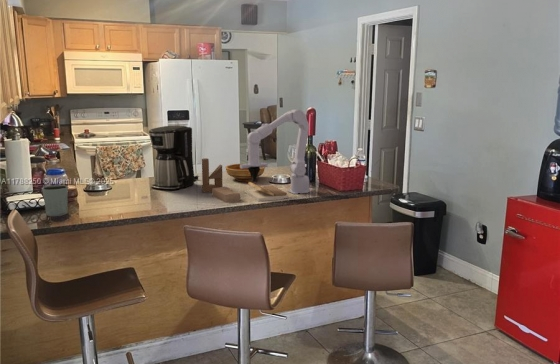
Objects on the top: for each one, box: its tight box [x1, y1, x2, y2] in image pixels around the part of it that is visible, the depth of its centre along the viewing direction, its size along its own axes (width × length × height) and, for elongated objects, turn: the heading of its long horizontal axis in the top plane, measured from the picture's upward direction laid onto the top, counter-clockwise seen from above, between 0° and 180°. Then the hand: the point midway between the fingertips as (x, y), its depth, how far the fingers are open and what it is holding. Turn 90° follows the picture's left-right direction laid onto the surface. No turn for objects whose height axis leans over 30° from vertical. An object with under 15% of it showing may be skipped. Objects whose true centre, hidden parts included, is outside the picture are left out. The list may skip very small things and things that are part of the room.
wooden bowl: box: [224, 163, 266, 182], centre depth 280 cm, size 30×24×8 cm
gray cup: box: [41, 184, 69, 217], centre depth 203 cm, size 10×10×12 cm
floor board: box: [244, 185, 289, 202], centre depth 239 cm, size 16×20×3 cm
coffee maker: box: [148, 125, 201, 191], centre depth 261 cm, size 23×32×34 cm
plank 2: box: [253, 184, 274, 196], centre depth 234 cm, size 8×9×1 cm
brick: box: [211, 186, 241, 203], centre depth 233 cm, size 17×8×5 cm, turn 34°
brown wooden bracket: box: [201, 158, 224, 193], centre depth 247 cm, size 4×11×18 cm, turn 115°
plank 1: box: [247, 181, 267, 190], centre depth 242 cm, size 8×9×1 cm
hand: (254, 181), depth 241 cm, fingers closed
